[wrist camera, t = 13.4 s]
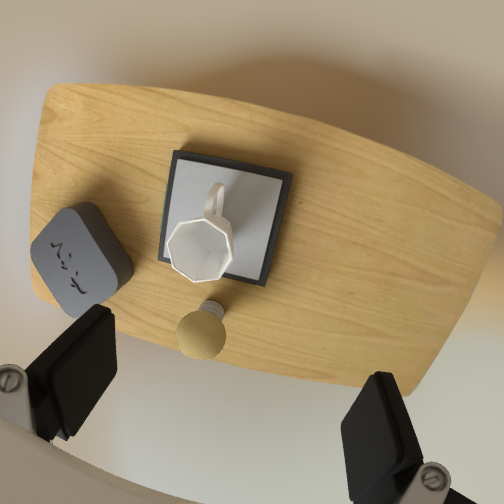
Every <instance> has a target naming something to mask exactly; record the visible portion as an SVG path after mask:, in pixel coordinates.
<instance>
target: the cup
mask: <svg viewBox="0 0 504 504" xmlns="http://www.w3.org/2000/svg"><path fill="white" fill-rule="evenodd" d="M216 195H217V207H216V214H215V215H212V212H213V205H214V201H215V198H216ZM223 205H224V184H223V183H219V182H216V183H214V184H213V186H212V187H211V189H210V191H209V194H208V196H207V200H206V203H205V208H204V214H203V217H198V218H193V219H190V220H185V221H181V222H179V223H178V224H177V226H176V228H175V229H174V231H173V233H172V234H171V236H170V238H169V240H168V241H167V243H166V244H167V248H168V252H169V256H170V259H171V263H172V267H173V268H174V269H175V270H176V271H178V272H179V273H181V274H182V275H184V276H185V277H187V278H188V279H189V280H191V281H192V282H194V283H196V282H204V281H212V280H219V279H220V277H221V276H222V275H223V273H224V272H225V270H226V269H227V268H228V266H229V265H230V263H231V262H232V261H233V250H234V242H233V238H232V236H233V233H232V228H231V223H230V222H229V221H228V220H227V219H225V218H224V217H222V212H223Z"/></svg>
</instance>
